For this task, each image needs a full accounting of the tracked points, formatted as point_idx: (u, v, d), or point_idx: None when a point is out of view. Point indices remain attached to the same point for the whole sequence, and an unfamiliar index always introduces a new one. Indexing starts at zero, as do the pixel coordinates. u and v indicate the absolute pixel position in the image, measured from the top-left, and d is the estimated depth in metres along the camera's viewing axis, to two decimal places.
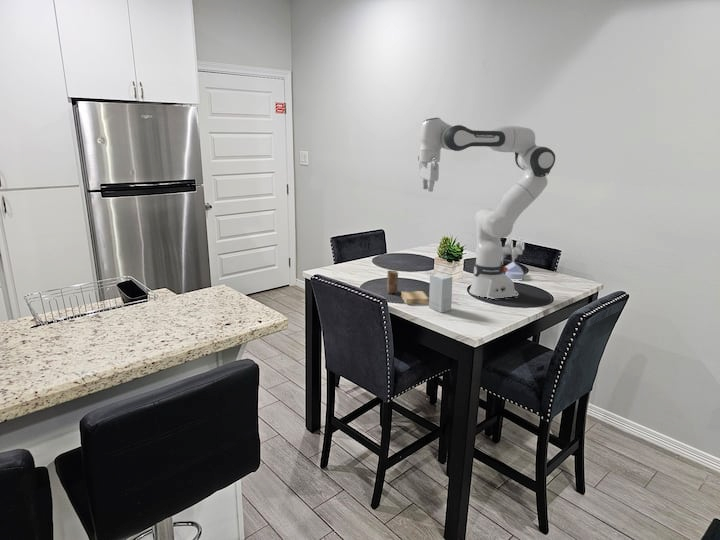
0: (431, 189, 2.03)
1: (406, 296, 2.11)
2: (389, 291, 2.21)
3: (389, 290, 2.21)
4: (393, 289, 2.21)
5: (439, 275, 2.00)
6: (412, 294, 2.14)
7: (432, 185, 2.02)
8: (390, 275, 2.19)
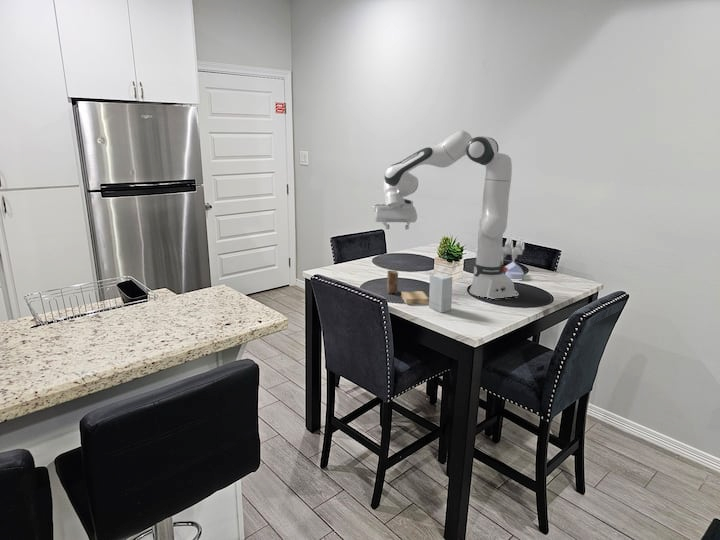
0: (386, 226, 2.27)
1: (406, 296, 2.11)
2: (389, 291, 2.21)
3: (389, 290, 2.21)
4: (393, 289, 2.21)
5: (439, 275, 2.00)
6: (412, 294, 2.14)
7: (384, 223, 2.28)
8: (390, 275, 2.19)
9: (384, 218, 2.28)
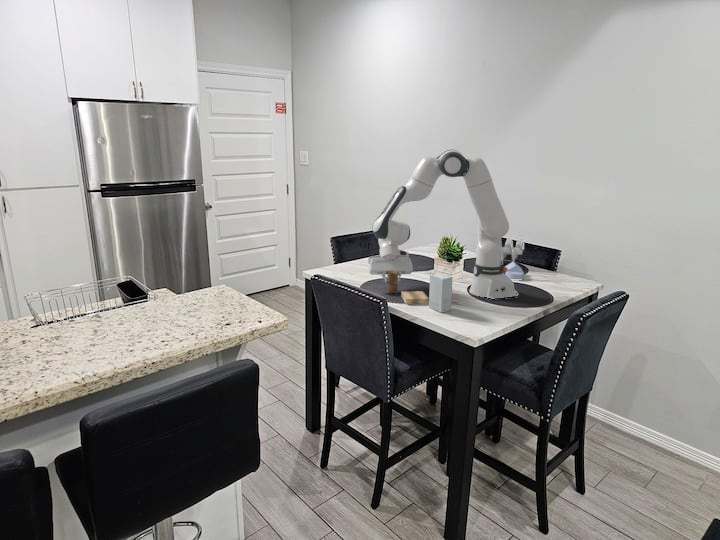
0: (385, 280, 2.21)
1: (406, 296, 2.11)
2: (389, 291, 2.21)
3: (389, 290, 2.21)
4: (393, 289, 2.21)
5: (439, 275, 2.00)
6: (412, 294, 2.14)
7: (383, 276, 2.21)
8: (390, 275, 2.19)
9: (379, 271, 2.21)
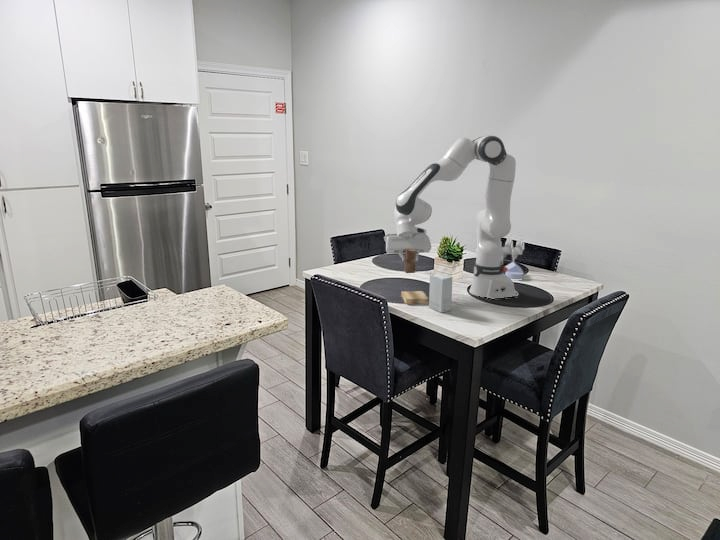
0: (402, 258, 2.11)
1: (406, 296, 2.11)
2: (407, 270, 2.11)
3: (407, 269, 2.11)
4: (411, 268, 2.11)
5: (439, 275, 2.00)
6: (412, 294, 2.14)
7: (400, 255, 2.12)
8: (408, 253, 2.09)
9: (396, 249, 2.12)
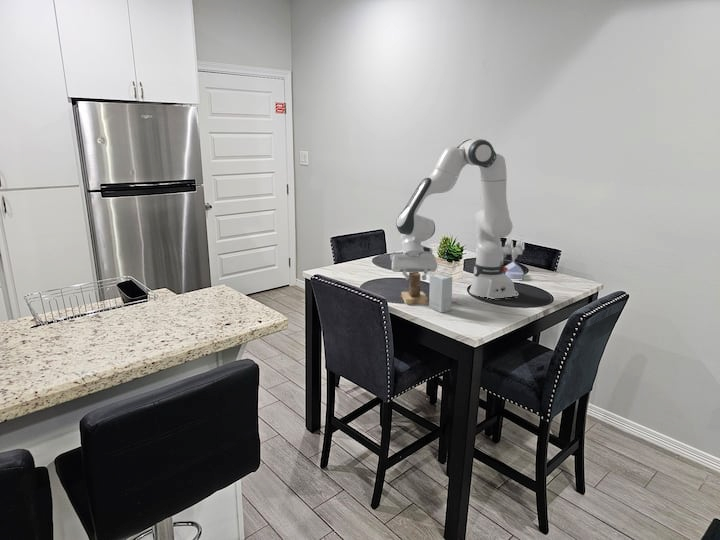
0: (406, 277, 2.10)
1: (406, 296, 2.11)
2: (412, 294, 2.11)
3: (412, 293, 2.11)
4: (416, 291, 2.11)
5: (439, 275, 2.00)
6: None
7: (404, 274, 2.11)
8: (412, 277, 2.08)
9: (402, 268, 2.11)
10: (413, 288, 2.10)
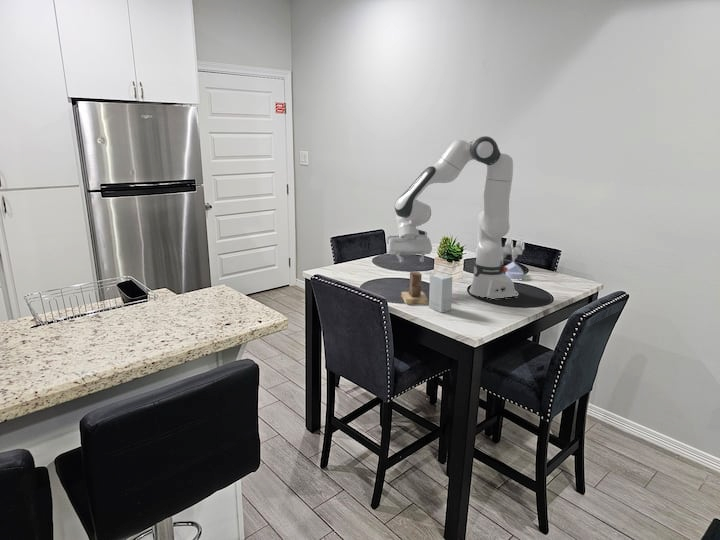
0: (400, 259, 2.17)
1: (406, 296, 2.11)
2: (412, 293, 2.11)
3: (412, 292, 2.11)
4: (416, 291, 2.11)
5: (439, 275, 2.00)
6: None
7: (398, 256, 2.18)
8: (413, 277, 2.09)
9: (398, 251, 2.18)
10: (414, 288, 2.10)
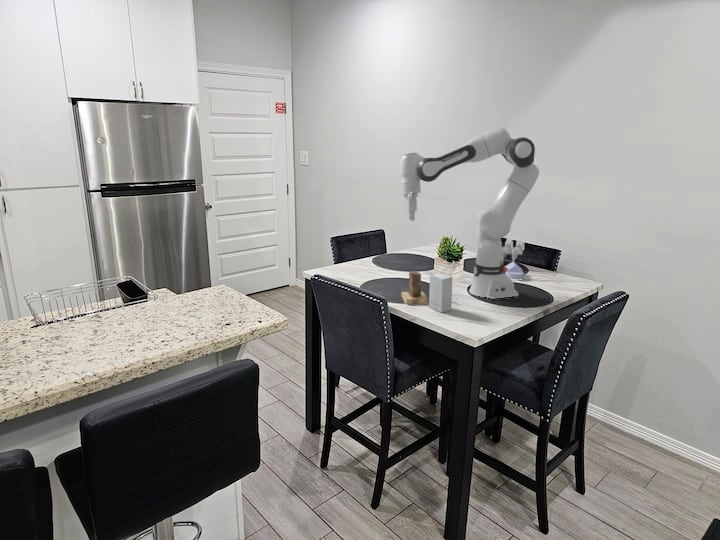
0: (413, 218, 2.17)
1: (406, 296, 2.11)
2: (413, 293, 2.11)
3: (413, 292, 2.11)
4: (417, 291, 2.11)
5: (439, 275, 2.00)
6: None
7: (413, 215, 2.16)
8: (413, 277, 2.09)
9: (415, 210, 2.16)
10: (414, 288, 2.10)
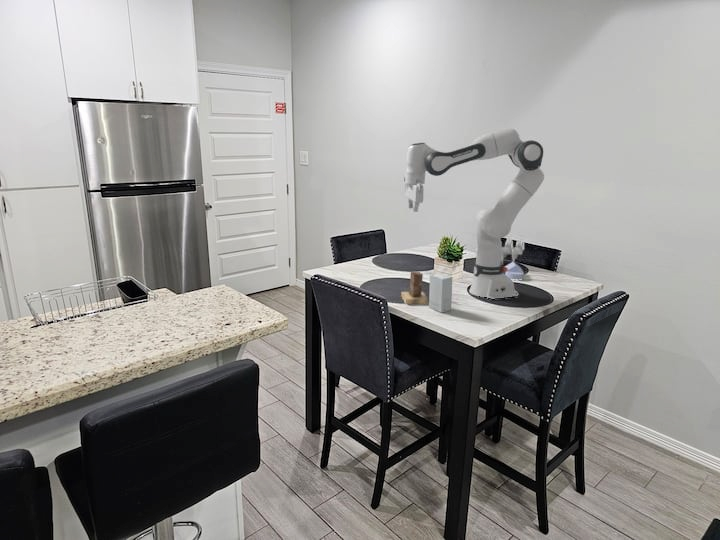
0: (416, 209, 2.17)
1: (406, 296, 2.11)
2: (413, 293, 2.11)
3: (413, 292, 2.11)
4: (417, 291, 2.11)
5: (439, 275, 2.00)
6: None
7: (417, 206, 2.16)
8: (415, 276, 2.09)
9: None
10: (415, 287, 2.10)
